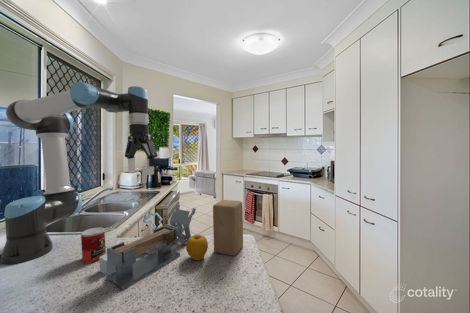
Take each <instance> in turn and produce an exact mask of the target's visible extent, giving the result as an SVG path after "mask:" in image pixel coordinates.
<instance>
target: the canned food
mask: <svg viewBox="0 0 470 313" xmlns="http://www.w3.org/2000/svg"><path fill="white" fill-rule="evenodd" d="M80 242H81V243H80V244H81V245H80V246H81V258H82V259H81V260H82V262H83V263H86V264H91V263H95V262H96V263H97V262H99V257H100V256H103V255H105V254H107V249H106V231H105V227H101V226H100V227H93V228H88V229H85V230H83V231H82V232H81V234H80Z"/></svg>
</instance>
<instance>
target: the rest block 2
mask: <svg viewBox="0 0 470 313" xmlns="http://www.w3.org/2000/svg"><path fill="white" fill-rule="evenodd" d="M155 250H156V251H157V250H158V246H156V247H153V248H151V249H149V250H147V251H145V252H146V253H145V252H144V253H145V254H147V253H148V254H147V255H149V253H150V254H151V252H152V253H153V251H154V252H155Z"/></svg>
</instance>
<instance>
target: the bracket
mask: <svg viewBox="0 0 470 313" xmlns="http://www.w3.org/2000/svg"><path fill="white" fill-rule="evenodd" d="M180 207H181V206H180V205H179V204H176V207H175V210H174V211H173V212H172V213H171V217H170V219H169V224H166V223H164V225H163V226H167V227H171V228H174V229H177V239H176V240H175V239H174V240H175V242H174V243H181V244H183V245H185V246H186V244H187V240H188V239H189V238H190V237H191V236H192V235H191V230H190V224H191V222H192V218H193V216H194V215H195V214H196V210H197V208H194V207H193V208H192V210H191V211H189V210H184V209H180Z"/></svg>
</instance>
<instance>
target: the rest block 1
mask: <svg viewBox="0 0 470 313" xmlns="http://www.w3.org/2000/svg"><path fill="white" fill-rule="evenodd" d="M98 262H99V271H100V272H101V273H103V274H104V275H105V276H107V275H109V274H111V273H113V272H115V271H116V269H115V265H114V264H113V263H111V262H109V261H107V253H106V254H105V255H103V256H100V257H99V261H98Z"/></svg>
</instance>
